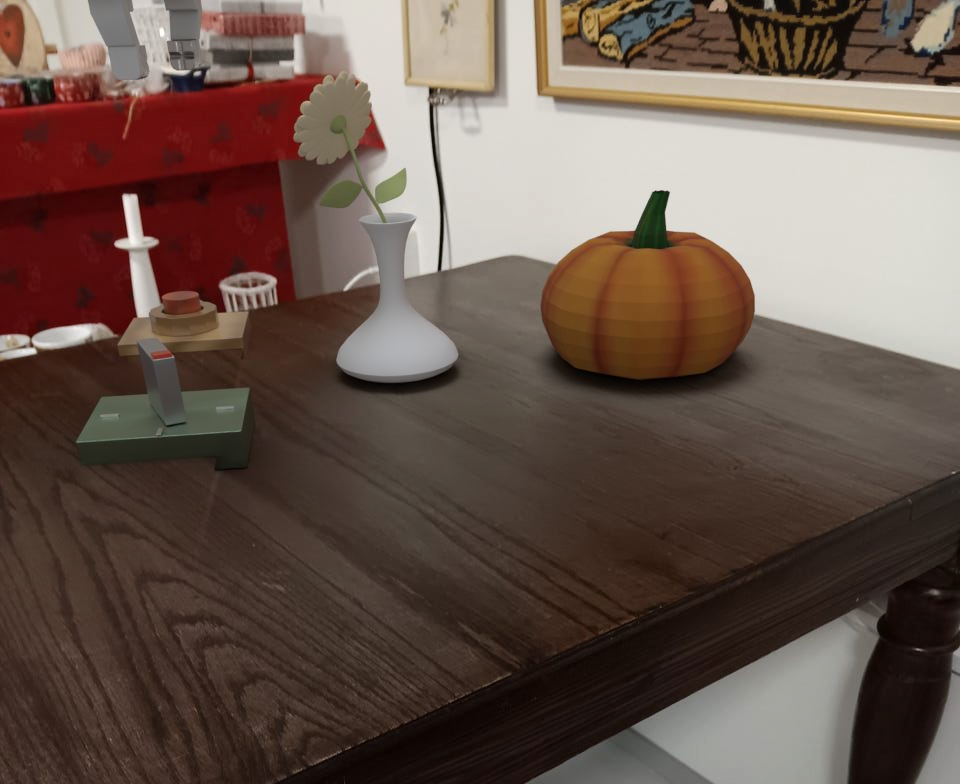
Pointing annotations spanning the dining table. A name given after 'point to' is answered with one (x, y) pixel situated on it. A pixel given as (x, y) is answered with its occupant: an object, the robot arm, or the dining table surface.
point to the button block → (190, 331)
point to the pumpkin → (647, 301)
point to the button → (181, 303)
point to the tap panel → (170, 430)
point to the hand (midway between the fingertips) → (161, 74)
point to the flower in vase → (394, 324)
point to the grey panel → (162, 380)
